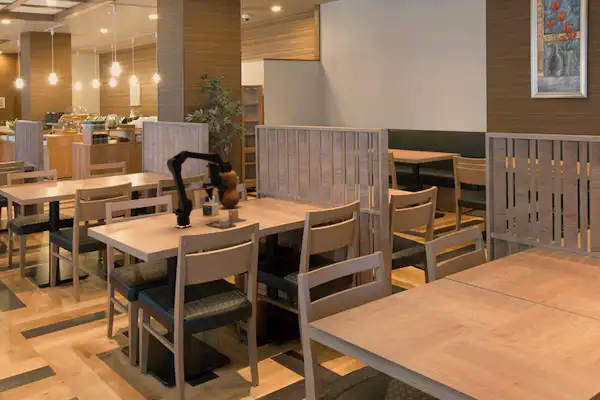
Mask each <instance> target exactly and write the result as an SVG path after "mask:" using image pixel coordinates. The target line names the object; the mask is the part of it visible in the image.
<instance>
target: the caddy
mask: <svg viewBox="0 0 600 400" xmlns="http://www.w3.org/2000/svg"><path fill="white" fill-rule="evenodd" d="M216 224H219V220H216V221H212V222H207V223H205V225H207V226H206V227H211V228H216V229H220V230H225V229H227V230H228V229H230V228H231V229H232V228H235V227H237V225H236V223H233V224H232V223H229V226H226V227H221V226H219V225H216Z"/></svg>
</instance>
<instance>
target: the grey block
mask: <svg viewBox="0 0 600 400" xmlns="http://www.w3.org/2000/svg"><path fill="white" fill-rule="evenodd" d="M218 221H219V223H218V224H219V225H218V226H221V227H226V226H229V220H227V219H226V218H223V219H220V220H218Z"/></svg>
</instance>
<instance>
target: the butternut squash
mask: <svg viewBox="0 0 600 400" xmlns="http://www.w3.org/2000/svg"><path fill="white" fill-rule="evenodd" d="M220 176H222V179H226V180H228V185H229V189H228V190H227V191H226V192H225V193H224V196H223V200H222V202H220V199H219V198H218V201H219V202H220V204H221V205H222V207H224V208H226V209H228V210H231V209H232V208H234V207H236V206H238V204H239V202H240V194H239V192H238V190H237V189H238V188H237V186H238V174H237V172H236V171H234V170H232V171H231V172H230V173H220Z"/></svg>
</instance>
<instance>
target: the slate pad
mask: <svg viewBox="0 0 600 400" xmlns="http://www.w3.org/2000/svg"><path fill="white" fill-rule="evenodd" d="M238 218H239V217H238ZM227 220H229V218H228V219H227ZM246 220H247V219H244V218H239V220H236V221H230V220H229V223H230V224H236V223H237V224H238V223H242V222H246Z"/></svg>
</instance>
